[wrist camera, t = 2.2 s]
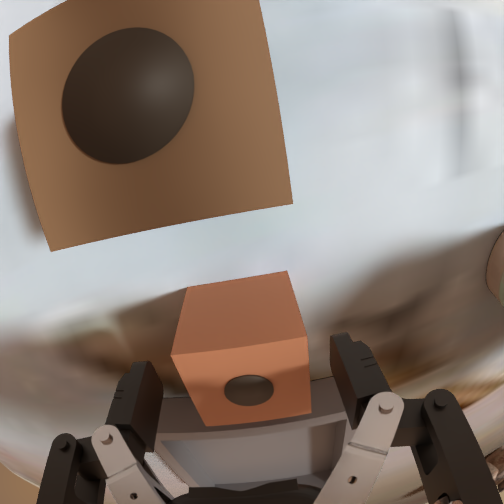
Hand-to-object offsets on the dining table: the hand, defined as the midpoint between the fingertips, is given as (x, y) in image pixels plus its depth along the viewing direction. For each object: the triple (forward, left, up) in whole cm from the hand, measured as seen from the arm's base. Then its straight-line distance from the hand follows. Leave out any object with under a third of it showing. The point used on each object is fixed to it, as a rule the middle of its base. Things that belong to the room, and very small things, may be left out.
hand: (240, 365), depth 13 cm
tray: (+1, +14, -4) cm, 15 cm away
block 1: (+1, -11, -4) cm, 11 cm away
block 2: (0, 0, -4) cm, 4 cm away
